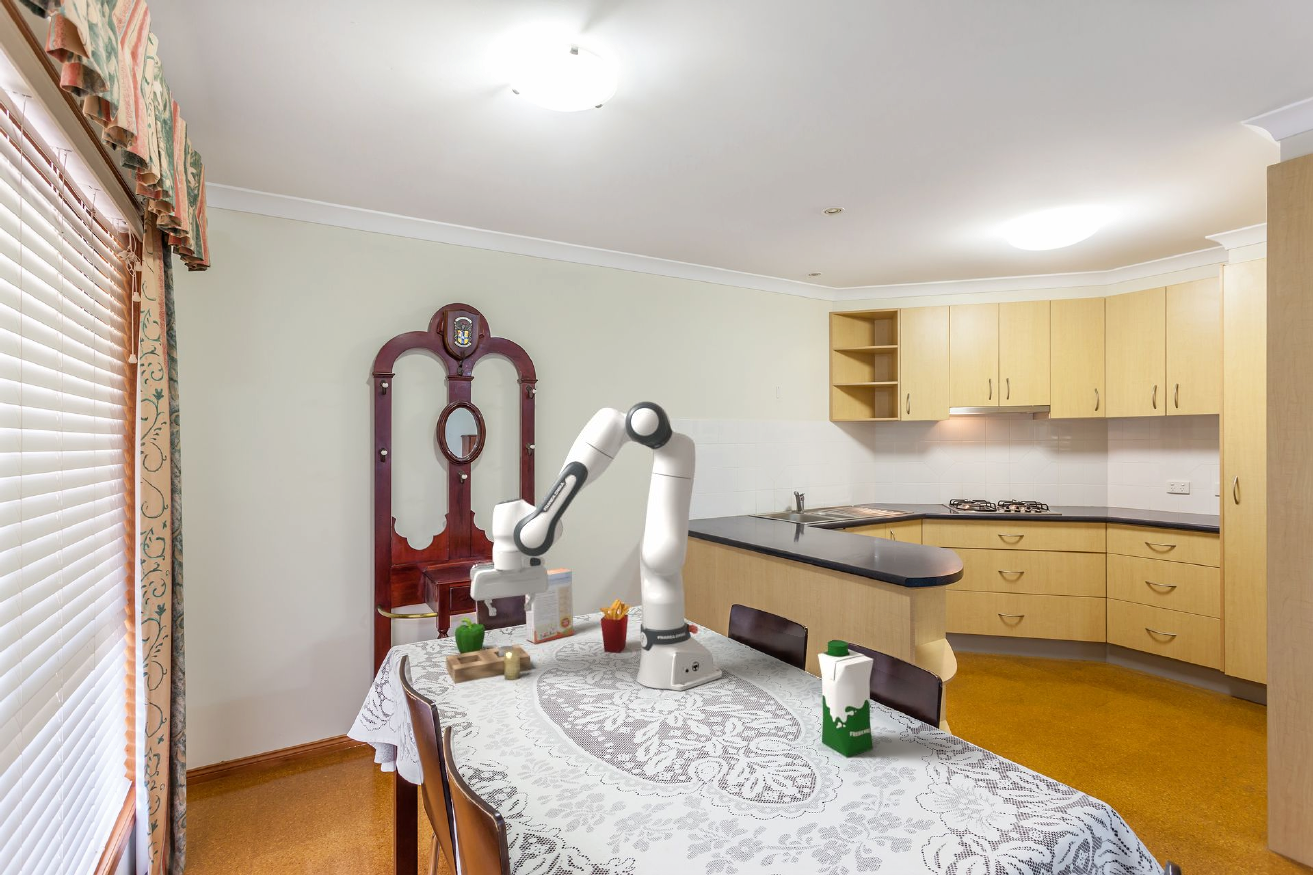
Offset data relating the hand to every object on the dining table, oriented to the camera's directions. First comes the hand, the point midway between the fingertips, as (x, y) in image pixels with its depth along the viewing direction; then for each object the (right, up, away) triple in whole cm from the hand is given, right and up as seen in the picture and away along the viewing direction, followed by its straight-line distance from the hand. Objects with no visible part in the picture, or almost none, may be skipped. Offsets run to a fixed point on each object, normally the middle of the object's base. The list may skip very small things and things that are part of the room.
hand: (510, 612), depth 173 cm
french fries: (+27, -17, +22) cm, 39 cm away
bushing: (0, -17, 0) cm, 17 cm away
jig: (-8, -17, +7) cm, 20 cm away
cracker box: (+5, -17, +35) cm, 39 cm away
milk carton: (+77, -16, -42) cm, 89 cm away
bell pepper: (-16, -18, +21) cm, 32 cm away
